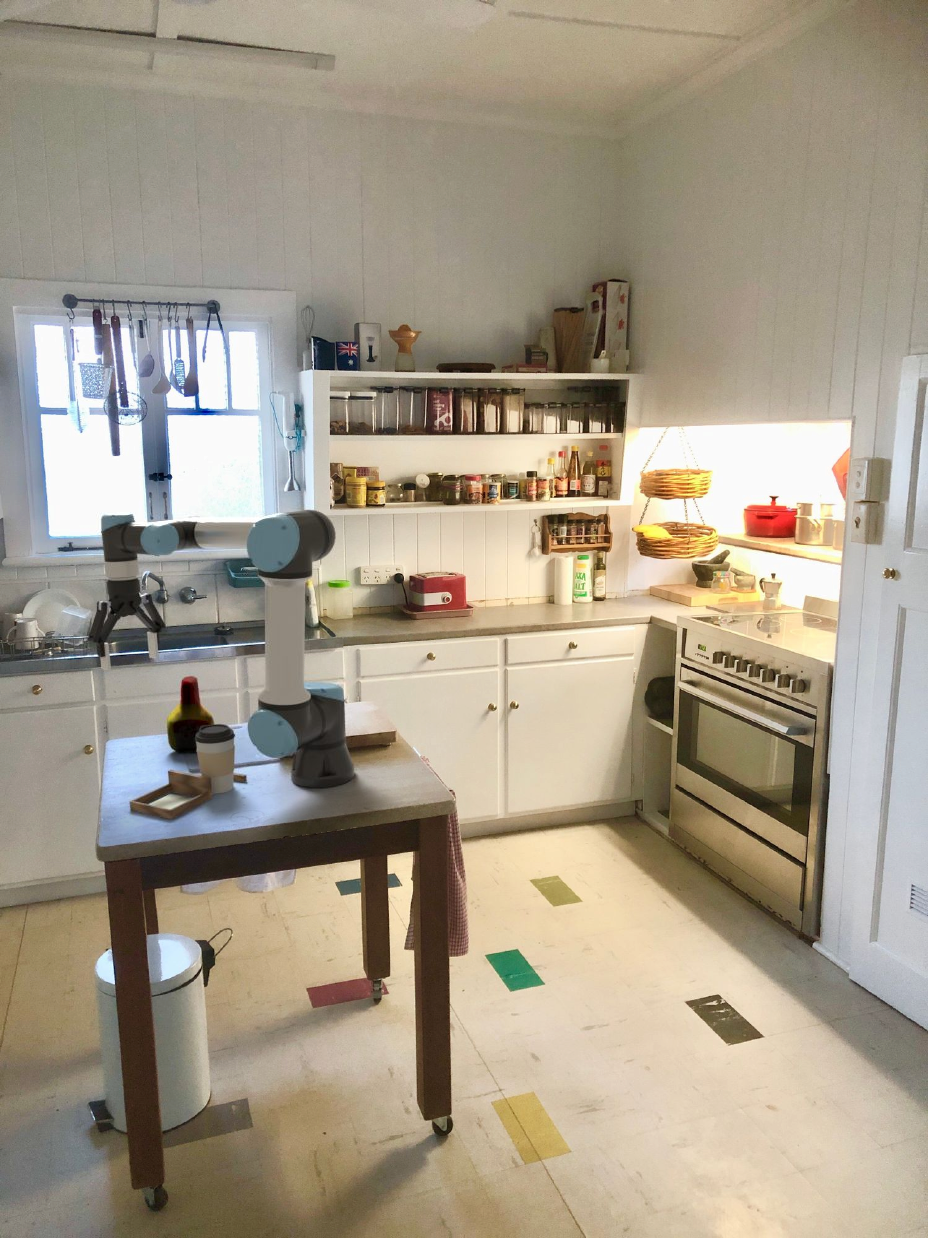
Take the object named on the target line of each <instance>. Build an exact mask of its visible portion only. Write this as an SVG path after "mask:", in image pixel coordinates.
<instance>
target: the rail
mask: <svg viewBox="0 0 928 1238" xmlns="http://www.w3.org/2000/svg"><path fill="white" fill-rule="evenodd" d="M233 781H235V782H241V783H246V782H247V774H244V773H243V774H242V773H239V772H234V774H233Z"/></svg>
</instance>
